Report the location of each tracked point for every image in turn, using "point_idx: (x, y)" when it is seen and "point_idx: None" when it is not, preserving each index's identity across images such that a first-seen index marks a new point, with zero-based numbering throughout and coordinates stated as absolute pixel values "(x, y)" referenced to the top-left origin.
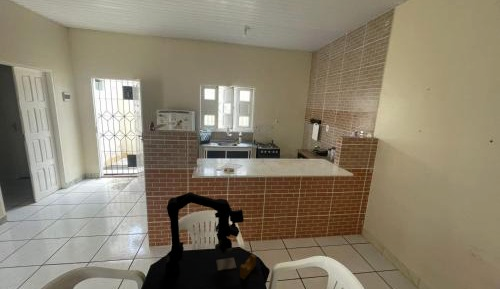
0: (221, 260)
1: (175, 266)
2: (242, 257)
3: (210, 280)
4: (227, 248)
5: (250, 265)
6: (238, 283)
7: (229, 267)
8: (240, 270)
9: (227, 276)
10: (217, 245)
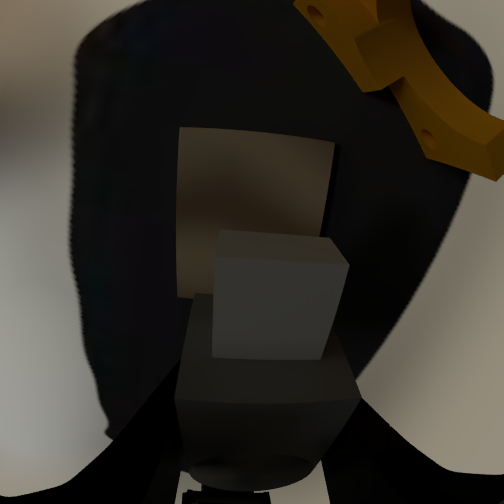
0: (193, 257)
1: (268, 494)
2: (195, 36)
3: (356, 345)
4: (350, 376)
5: (406, 31)
6: (459, 191)
7: (313, 208)
8: (469, 169)
9: (382, 244)
10: (238, 481)
